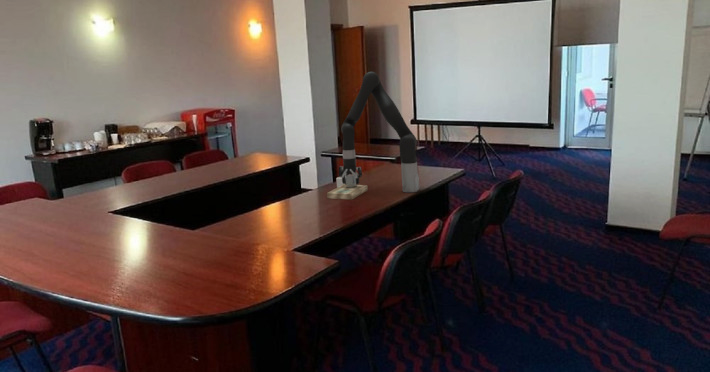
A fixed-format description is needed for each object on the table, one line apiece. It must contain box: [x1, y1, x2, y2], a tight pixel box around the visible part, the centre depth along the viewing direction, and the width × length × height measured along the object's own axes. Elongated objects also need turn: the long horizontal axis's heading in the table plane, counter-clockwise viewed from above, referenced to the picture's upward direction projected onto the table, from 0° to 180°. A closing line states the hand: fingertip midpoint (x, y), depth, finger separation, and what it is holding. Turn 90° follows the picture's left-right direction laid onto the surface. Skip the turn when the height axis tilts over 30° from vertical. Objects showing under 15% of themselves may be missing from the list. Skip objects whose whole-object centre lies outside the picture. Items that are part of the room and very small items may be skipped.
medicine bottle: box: [336, 169, 350, 188], centre depth 350 cm, size 7×7×12 cm
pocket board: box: [326, 184, 369, 200], centre depth 332 cm, size 16×22×4 cm
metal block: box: [345, 174, 357, 188], centre depth 336 cm, size 5×5×10 cm
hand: (350, 183), depth 336 cm, fingers open, 8 cm apart
